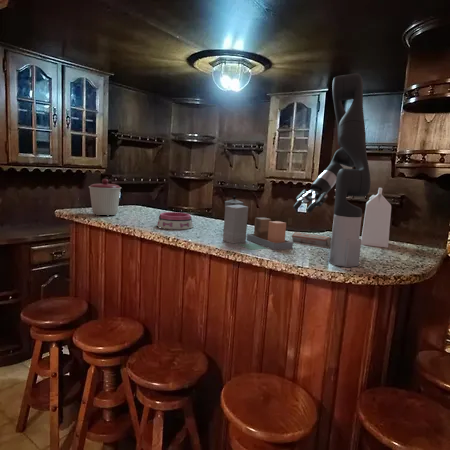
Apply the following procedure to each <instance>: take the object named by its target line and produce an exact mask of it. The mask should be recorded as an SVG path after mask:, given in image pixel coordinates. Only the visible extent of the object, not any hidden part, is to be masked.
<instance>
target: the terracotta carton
mask: <svg viewBox="0 0 450 450" xmlns="http://www.w3.org/2000/svg"><path fill="white" fill-rule="evenodd" d="M286 231H287V222H283V221H280V220H275V221H272V220H271V221H269V228H268V241H270V242H273V243H284V242H285V240H286V233H287V232H286Z"/></svg>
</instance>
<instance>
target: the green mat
mask: <svg viewBox="0 0 450 450" xmlns="http://www.w3.org/2000/svg"><path fill="white" fill-rule="evenodd" d="M237 246H240V247H243V248H245V249H248V250H250V251H255V250H268V247H265V246H262V245H260V244H257V243H239V244H238V243H237Z"/></svg>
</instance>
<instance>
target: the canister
mask: <svg viewBox="0 0 450 450" xmlns="http://www.w3.org/2000/svg"><path fill="white" fill-rule="evenodd" d="M88 188H89V194H90V203H91V205H90V206H91V211H92V214H93V215H95V214H96V215H95V216H97V215H114V216H116V215H117V214H118V211H119V205H120V204H119V202H120V194H121V189H122V187H121V186H120V185H119V184H115V183H109V179H107V178H102V180H101V183H93V184H90V185H89V186H88ZM115 214H116V215H115Z"/></svg>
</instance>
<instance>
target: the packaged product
mask: <svg viewBox="0 0 450 450" xmlns="http://www.w3.org/2000/svg"><path fill="white" fill-rule="evenodd" d="M331 238H332V236H331V237H330V236H327V235H326V236H325V235H320V234H313V233H307V232H306V233H305V232H300V231H295V232H293V234H291V238H290V239H289V240H288V239H287V241H290V242H293V244H297V245H303V246H304V245H306V246H310V247H318V248H322V249H323V248H324V249H329V248H331Z"/></svg>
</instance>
